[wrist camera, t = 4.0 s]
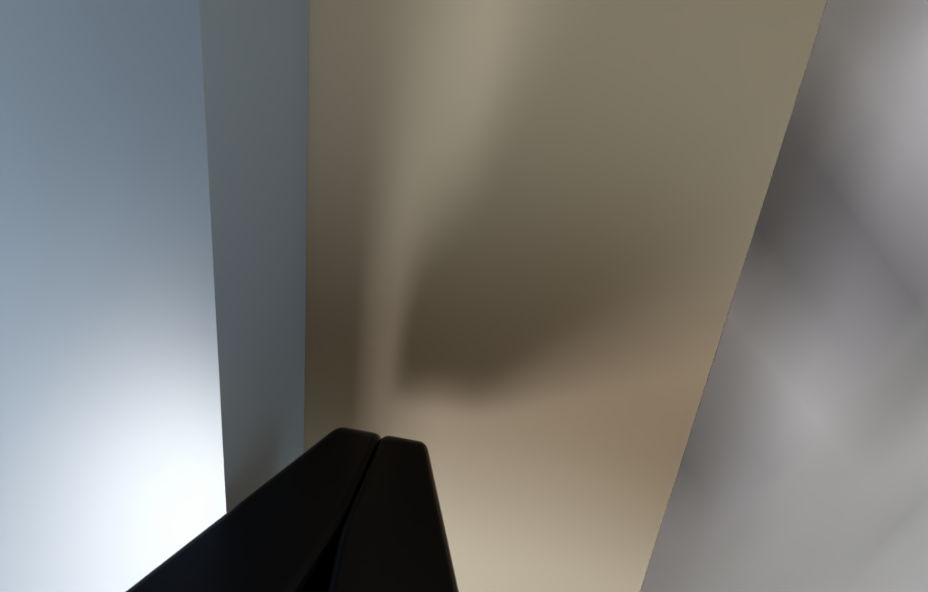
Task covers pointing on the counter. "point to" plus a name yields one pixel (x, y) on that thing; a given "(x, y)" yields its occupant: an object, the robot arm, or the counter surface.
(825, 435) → the counter surface
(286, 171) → the blue-grey block
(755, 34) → the panel
